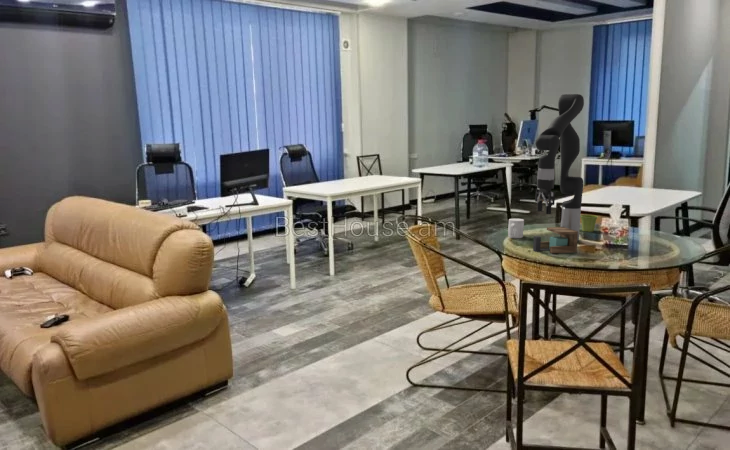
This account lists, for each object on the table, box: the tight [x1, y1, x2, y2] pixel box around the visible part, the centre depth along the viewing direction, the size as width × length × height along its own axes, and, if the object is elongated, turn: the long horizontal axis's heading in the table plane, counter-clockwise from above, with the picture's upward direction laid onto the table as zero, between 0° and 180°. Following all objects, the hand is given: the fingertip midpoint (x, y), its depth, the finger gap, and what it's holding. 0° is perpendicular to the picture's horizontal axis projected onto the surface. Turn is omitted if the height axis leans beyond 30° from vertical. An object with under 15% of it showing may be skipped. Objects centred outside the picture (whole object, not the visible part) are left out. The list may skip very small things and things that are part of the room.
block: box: [532, 235, 568, 252], centre depth 269 cm, size 6×15×7 cm, turn 101°
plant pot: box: [580, 214, 599, 233], centre depth 317 cm, size 9×9×9 cm
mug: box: [507, 218, 525, 239], centre depth 301 cm, size 12×9×8 cm
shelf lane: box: [540, 226, 578, 254], centre depth 269 cm, size 13×13×10 cm
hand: (543, 212), depth 263 cm, fingers open, 8 cm apart
